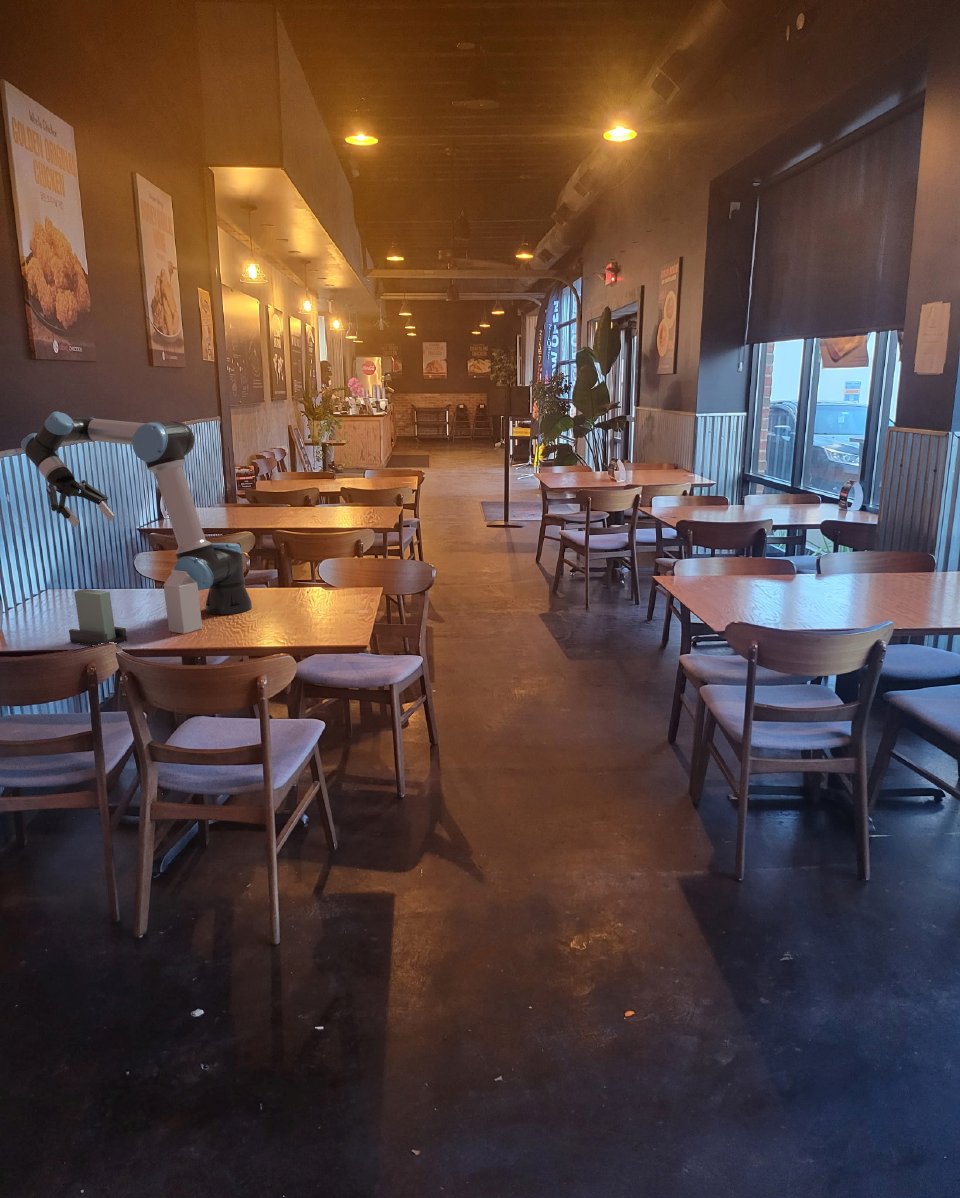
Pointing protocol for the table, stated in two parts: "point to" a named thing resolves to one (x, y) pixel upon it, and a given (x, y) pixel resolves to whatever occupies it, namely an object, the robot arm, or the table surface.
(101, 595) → the door panel
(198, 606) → the milk carton
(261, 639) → the table surface
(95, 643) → the bottom track
